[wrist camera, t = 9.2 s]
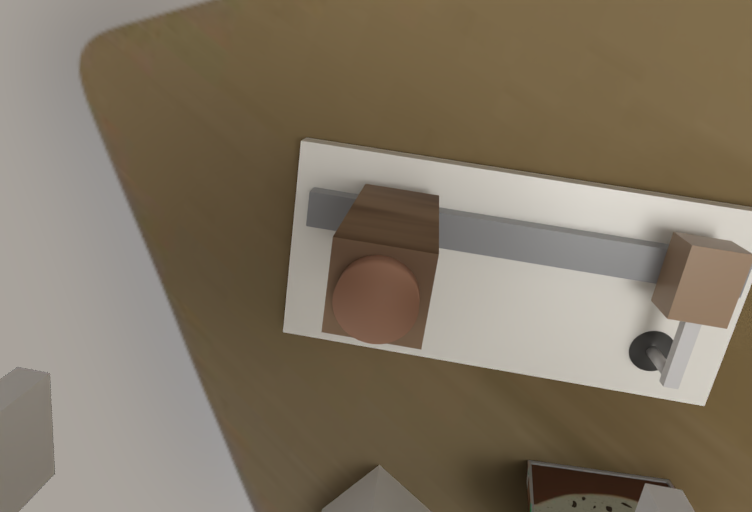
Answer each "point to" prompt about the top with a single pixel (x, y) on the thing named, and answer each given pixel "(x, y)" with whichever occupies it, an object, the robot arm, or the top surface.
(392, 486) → the white cube
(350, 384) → the top surface
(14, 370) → the robot arm
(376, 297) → the sliding handle
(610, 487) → the food container
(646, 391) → the board
